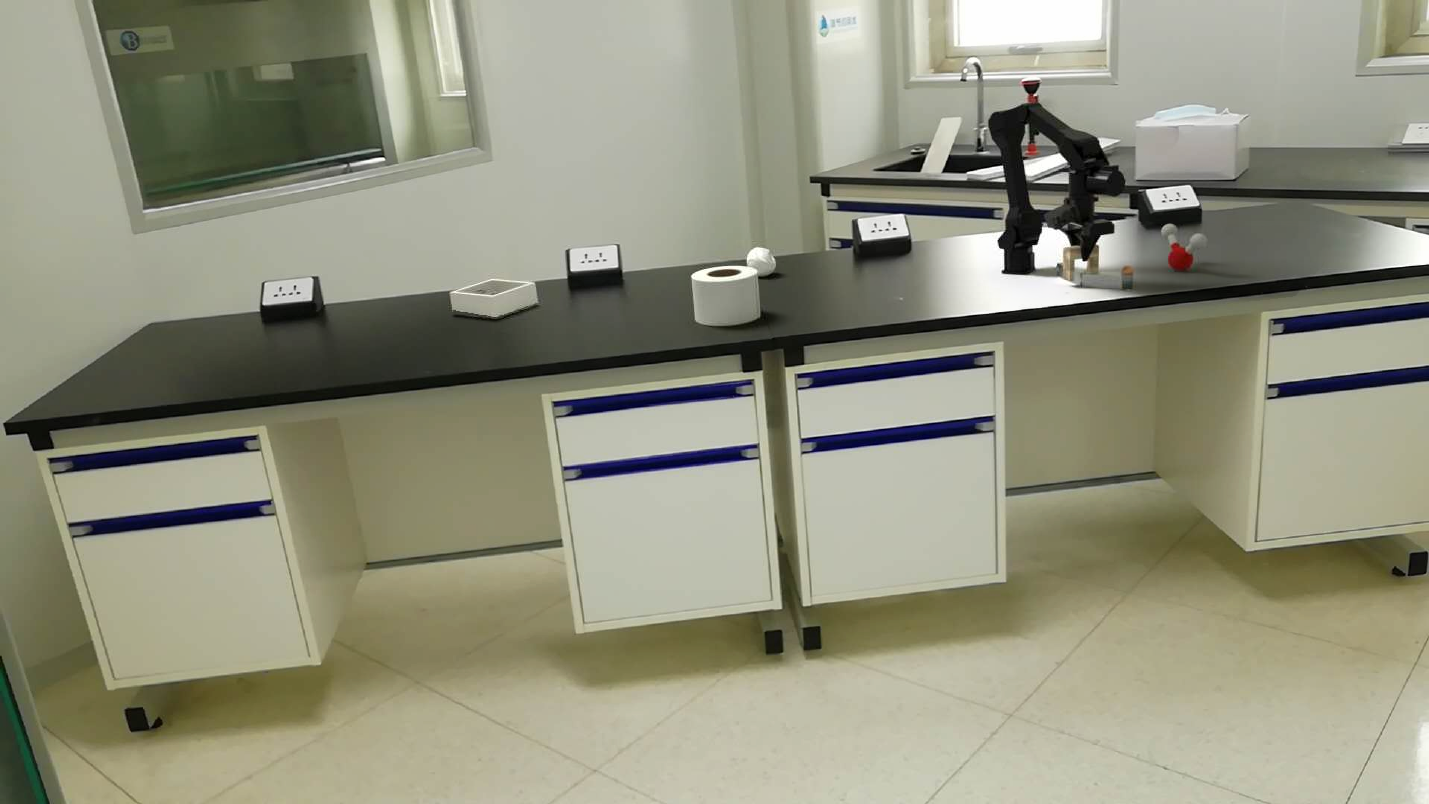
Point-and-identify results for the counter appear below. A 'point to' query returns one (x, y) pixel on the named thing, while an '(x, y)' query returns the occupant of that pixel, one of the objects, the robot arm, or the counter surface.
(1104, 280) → the bent rail
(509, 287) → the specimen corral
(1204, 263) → the counter surface
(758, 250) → the crumpled paper ball
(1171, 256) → the molecular model
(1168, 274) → the counter surface
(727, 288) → the toilet paper roll
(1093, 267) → the arch
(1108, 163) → the robot arm
